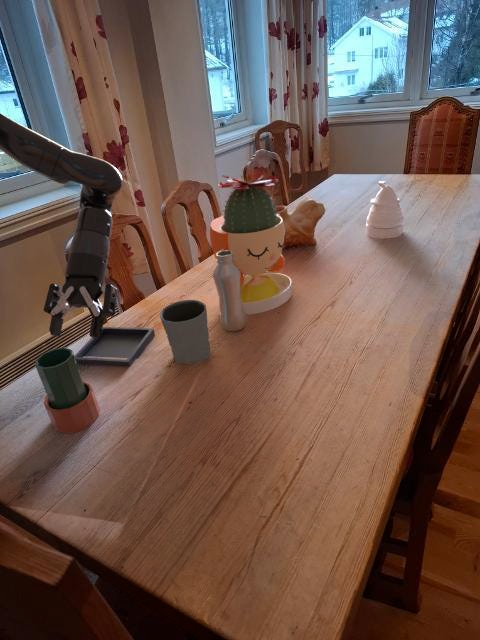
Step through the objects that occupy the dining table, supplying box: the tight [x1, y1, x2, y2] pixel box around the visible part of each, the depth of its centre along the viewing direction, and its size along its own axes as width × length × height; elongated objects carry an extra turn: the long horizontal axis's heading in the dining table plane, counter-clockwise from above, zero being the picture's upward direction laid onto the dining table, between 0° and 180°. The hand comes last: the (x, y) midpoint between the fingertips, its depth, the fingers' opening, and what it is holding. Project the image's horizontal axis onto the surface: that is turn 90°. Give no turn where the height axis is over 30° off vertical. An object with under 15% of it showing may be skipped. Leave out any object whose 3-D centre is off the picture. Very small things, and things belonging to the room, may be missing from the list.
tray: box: [74, 326, 156, 368], centre depth 105 cm, size 15×15×2 cm
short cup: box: [43, 380, 101, 434], centre depth 82 cm, size 9×9×6 cm
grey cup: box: [159, 299, 212, 365], centre depth 96 cm, size 10×10×12 cm
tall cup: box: [34, 347, 88, 409], centre depth 80 cm, size 6×7×14 cm
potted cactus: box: [209, 165, 293, 315], centre depth 115 cm, size 22×22×35 cm
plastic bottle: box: [212, 251, 247, 332], centre depth 104 cm, size 6×7×20 cm
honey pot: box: [365, 180, 405, 239], centre depth 153 cm, size 13×13×18 cm
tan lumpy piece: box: [275, 197, 326, 251], centre depth 154 cm, size 14×26×15 cm, turn 103°
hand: (74, 336), depth 82 cm, fingers open, 8 cm apart
